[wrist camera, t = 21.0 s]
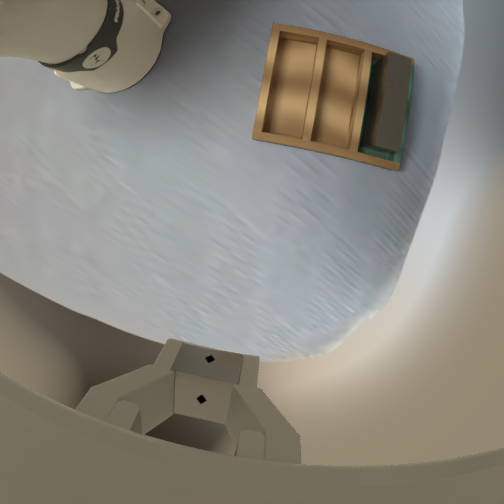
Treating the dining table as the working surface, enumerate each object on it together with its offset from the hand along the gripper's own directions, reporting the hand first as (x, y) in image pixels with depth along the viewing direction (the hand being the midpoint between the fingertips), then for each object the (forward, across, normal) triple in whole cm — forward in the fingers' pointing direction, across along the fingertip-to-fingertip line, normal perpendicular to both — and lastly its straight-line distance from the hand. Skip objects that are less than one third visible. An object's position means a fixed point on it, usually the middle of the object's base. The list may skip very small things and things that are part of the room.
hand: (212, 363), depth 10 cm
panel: (+34, +13, +16) cm, 40 cm away
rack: (+35, +7, +16) cm, 39 cm away
